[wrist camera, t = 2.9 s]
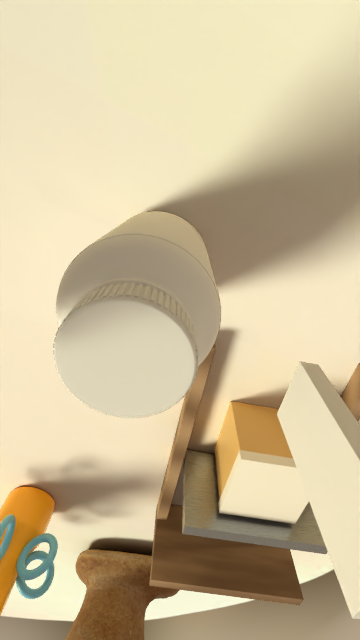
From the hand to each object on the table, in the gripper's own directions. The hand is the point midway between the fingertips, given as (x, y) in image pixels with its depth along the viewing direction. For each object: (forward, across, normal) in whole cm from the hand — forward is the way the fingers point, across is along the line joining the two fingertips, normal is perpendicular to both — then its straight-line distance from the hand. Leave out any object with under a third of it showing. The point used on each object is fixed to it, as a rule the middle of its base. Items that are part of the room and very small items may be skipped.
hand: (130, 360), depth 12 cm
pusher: (+14, +13, -21) cm, 28 cm away
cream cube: (+14, +13, -16) cm, 25 cm away
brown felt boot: (+15, +3, -46) cm, 48 cm away
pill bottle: (+14, 0, 0) cm, 14 cm away
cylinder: (+14, -11, -34) cm, 38 cm away
